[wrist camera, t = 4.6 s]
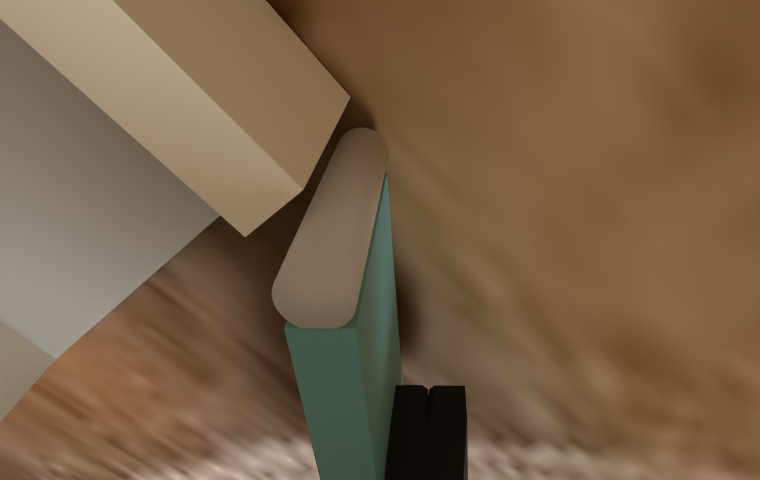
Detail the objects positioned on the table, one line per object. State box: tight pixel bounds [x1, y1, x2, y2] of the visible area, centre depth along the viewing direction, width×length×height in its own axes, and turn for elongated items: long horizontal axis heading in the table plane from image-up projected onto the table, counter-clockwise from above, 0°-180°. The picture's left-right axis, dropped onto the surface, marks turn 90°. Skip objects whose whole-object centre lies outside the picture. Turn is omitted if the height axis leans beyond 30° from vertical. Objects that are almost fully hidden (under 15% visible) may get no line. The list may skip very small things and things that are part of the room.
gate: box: [272, 127, 403, 480], centre depth 9 cm, size 11×1×4 cm, turn 4°
